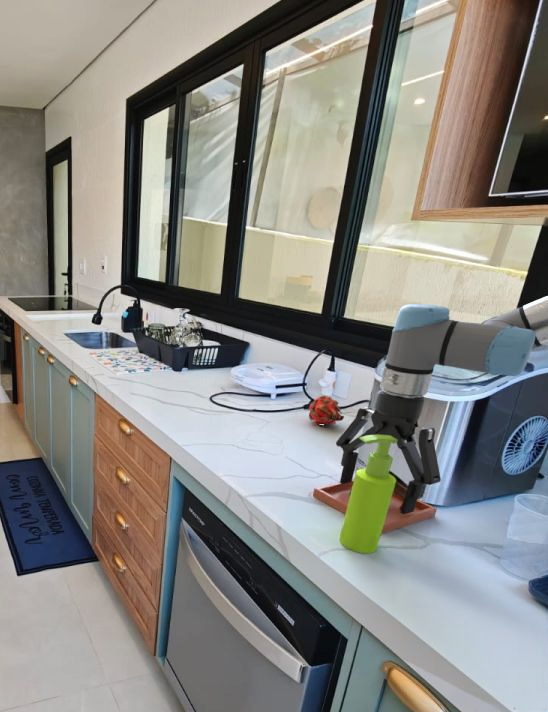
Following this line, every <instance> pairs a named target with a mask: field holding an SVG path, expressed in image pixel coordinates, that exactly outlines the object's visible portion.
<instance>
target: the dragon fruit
mask: <svg viewBox="0 0 548 712" xmlns="http://www.w3.org/2000/svg"><path fill="white" fill-rule="evenodd" d="M308 410H309V413H308V418H309V420H310V421H314V422H315V423H316V424H317V425H318V424H325V425H326V424H327V425H331V426H332V425H334V424H336V423H337V422H340V421H343V420H344V418H345V416H344V415H342V414H343V412H342V411H341V407H340V406H339V402H338V401H337V400H335V399H333V398H332V397H331V396H328V395H327V396H326V395H320V396H319V397H317V398H315V399H314V400H313V401H312V402H311V403H310V404H309V407H308ZM325 425H322V426H321V427H323V426H325Z"/></svg>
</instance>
